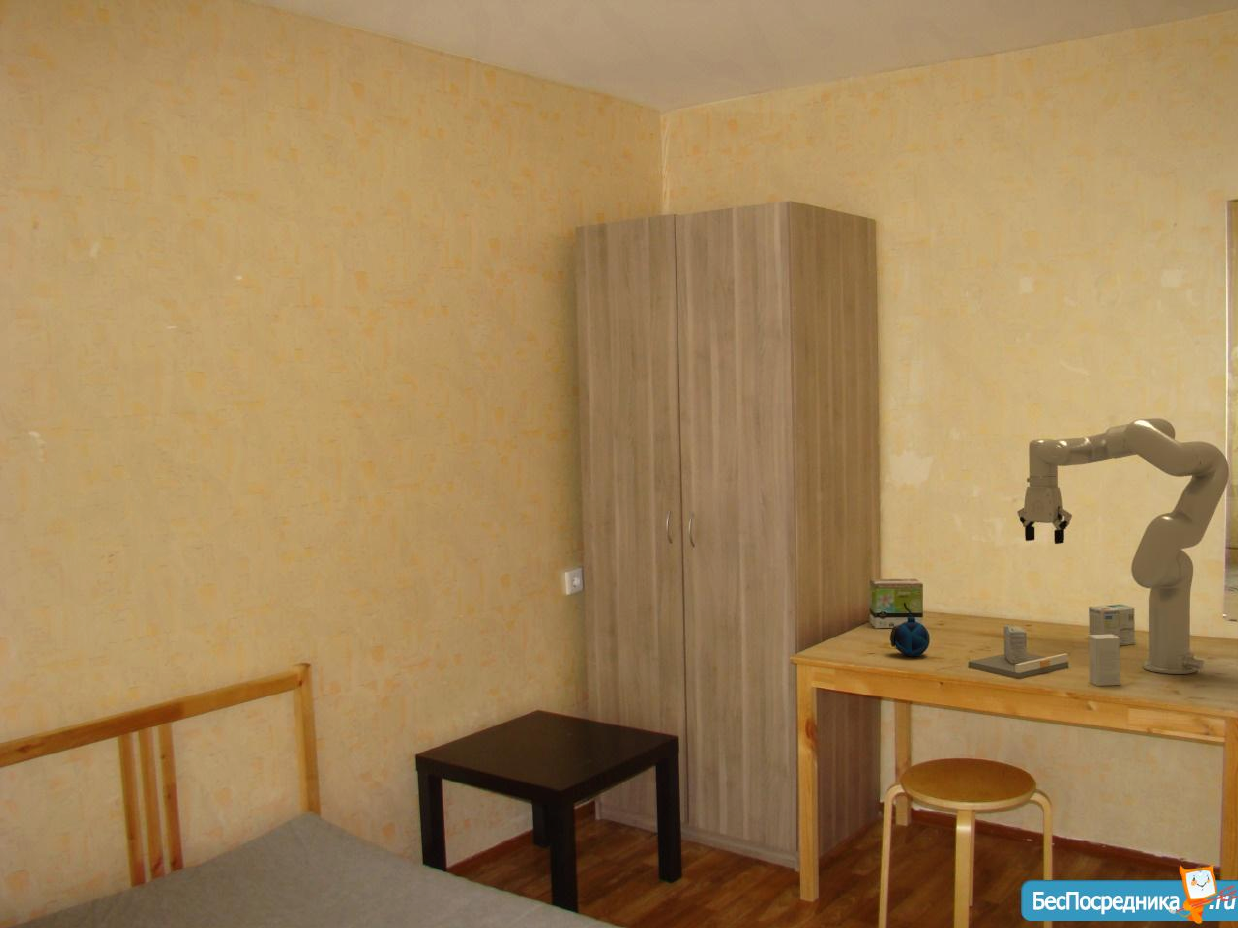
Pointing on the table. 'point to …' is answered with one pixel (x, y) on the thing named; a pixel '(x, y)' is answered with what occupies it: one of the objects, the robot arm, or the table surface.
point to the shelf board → (1021, 665)
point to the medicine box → (1015, 644)
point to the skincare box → (1104, 660)
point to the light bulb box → (1113, 622)
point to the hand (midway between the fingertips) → (1044, 541)
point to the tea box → (895, 601)
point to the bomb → (910, 637)
